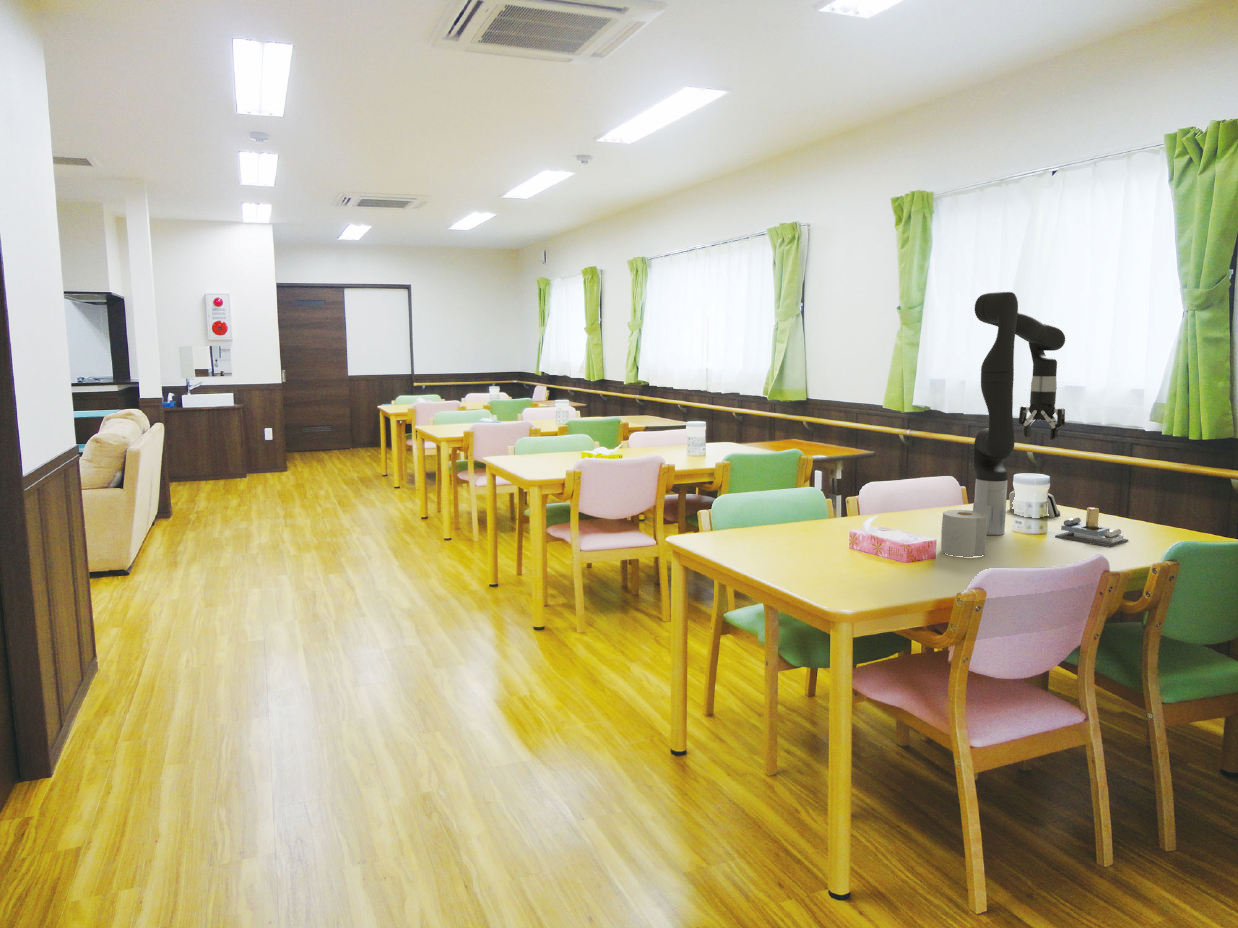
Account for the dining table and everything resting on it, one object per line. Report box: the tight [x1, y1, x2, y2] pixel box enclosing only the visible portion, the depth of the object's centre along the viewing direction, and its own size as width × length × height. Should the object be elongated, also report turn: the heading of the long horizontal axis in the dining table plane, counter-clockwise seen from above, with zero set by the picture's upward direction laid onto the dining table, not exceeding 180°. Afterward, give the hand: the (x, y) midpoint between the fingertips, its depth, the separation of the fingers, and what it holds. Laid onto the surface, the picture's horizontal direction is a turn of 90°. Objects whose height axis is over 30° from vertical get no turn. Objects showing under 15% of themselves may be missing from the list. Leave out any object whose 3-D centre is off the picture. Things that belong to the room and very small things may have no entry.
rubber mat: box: [1054, 531, 1129, 548], centre depth 251 cm, size 12×16×1 cm
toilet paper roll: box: [940, 509, 988, 557], centre depth 236 cm, size 12×12×12 cm
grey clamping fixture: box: [1060, 516, 1124, 544], centre depth 251 cm, size 7×15×5 cm, turn 35°
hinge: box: [1008, 489, 1061, 518], centre depth 290 cm, size 17×5×10 cm, turn 29°
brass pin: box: [1085, 507, 1100, 530], centre depth 251 cm, size 3×3×9 cm
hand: (1040, 438), depth 274 cm, fingers open, 8 cm apart
